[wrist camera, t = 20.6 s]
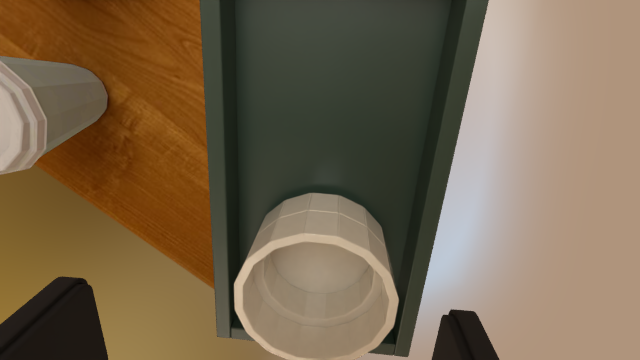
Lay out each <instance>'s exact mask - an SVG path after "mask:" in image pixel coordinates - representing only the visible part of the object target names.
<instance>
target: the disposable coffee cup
mask: <svg viewBox="0 0 640 360" xmlns="http://www.w3.org/2000/svg"><path fill="white" fill-rule="evenodd" d="M107 99H108V95H107V92H106V90H105V87H104V85H103V83H102V81H101V80H100V79H99V78H98V77H96V76H95V75H94V74H93V73H92V72H91V71H89V70H88V69H85V68H82V67H79V66H76V65H73V64H65V63H57V62H48V61H39V60H31V59H22V58H13V57H4V56H0V174H5V173H9V172H15V171H19V170H24V169H29V168H31V166H32V165H33V164H34V163H35V162H36V161H37V159H38V158H39V157H41V156H42V155H44V154H46V153H47V152H49V151H50V150H52V149H53V148H55V147H56V146H58V145H60V144H61V143H63V142H64V141H66V140H67V139H69V138H70V137H72V136H74V135H75V134H77V133H78V132H80V131H81V130H83V129H84V128H86V127H88V126H89V125H91V124H92V123H94V122H95V121H97V120H98V119H99V117H100V116H101V115H102V114H103V113H104V112H105V110H106V108H107Z"/></svg>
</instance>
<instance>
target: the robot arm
mask: <svg viewBox="0 0 640 360" xmlns="http://www.w3.org/2000/svg"><path fill="white" fill-rule="evenodd" d="M0 360H108V355H107V350H106V346H105V342H104V337H103V333H102V329H101V324H100V320H99V316H98V311H97V307H96V302H95V298H94V294H93V289H92V287H91V286H90V285H88V284H87V281H86V280H85V279H83V278H72V277H58V278H56V279H55V280H53V281H52V282H51V283H50V284H49V285H47V286H46V287H45V288H44V289H43V290H41V291H40V292H39V293H38V294H37V295H36V296H34V297H33V298H32V299H30V300H29V301H28V302H27V303H26V304H25V305H23V306H22V307H21V308H20V309H18V310H17V311H16V312H15V313H14V314H12V315H11V316H10V317H9V318H8V319H6V320H5V321H4V322H3V323H2V324H0ZM432 360H499V358H498V356H497V354H496V352H495V350H494V348H493V346H492V344H491V342H490V340H489V338H488V336H487V334H486V332H485V330H484V328H483V326H482V324H481V322H480V320H479V318H478V316H477V314H476V313H475V312H474V311H464V310H450V312H449V314H448V315H443V316H442V318H441V323H440V327H439V331H438V336H437V339H436V344H435V348H434V352H433V357H432Z"/></svg>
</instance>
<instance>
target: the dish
mask: <svg viewBox="0 0 640 360" xmlns="http://www.w3.org/2000/svg"><path fill="white" fill-rule="evenodd" d="M398 303H399V298H398V293H397V289H396V284H395V279H394V274H393V270H392V265H391V260H390V256H389V251H388V247H387V243H386V240H385V237H384V233H383V230H382V227H381V226H380V224H379V223H378V222H377V221H376V220H375V219H374V218H373V217H372V215H371V214H370V213H369V212H368V211H367V210H366V209H365V208H364V207H363V206H361V205H359V204H357V203H355V202H353V201H351V200H348V199H346V198H344V197H342V196H339V195H332V194H321V193H308V194H305V195H301V196H297V197H294V198H290V199H287V200H284V201H283V202H282V203H281V204H279V205H278V206H277V207H275V208H274V209H273V210H272V211H270V212H269V213H268V214H267V215H266V216H265V218H264V220H263V222H262V224H261V226H260V228H259V230H258V232H257V234H256V236H255V238H254V240H253V242H252V245H251V247H250V249H249V251H248V254H247V256H246V258H245V260H244V262H243V265H242V267H241V269H240V271H239V273H238V276H237V278H236V280H235V282H234V305H235V311H236V313H237V315H238V317H239V319H240V321H241V323H242V325H243V327H244V329H245V331H246V332H247V334H248V335H250V336H251V337H252V338H253V339H254V340H255V341H256V342H258V343H259V344H260V345H261V346H262V347H263V348H265V349H266V350H267V351H268V352H270V353H273V354H275V355H278V356H280V357H283V358H285V359H287V360H355V359H357V358H359V357H360V356H362V355H364V354H366V353H368V352H369V351H371V350H373V349H375V348H376V347H377V346H379V344H380V343H381V342H382V341H383V339H384V338H385V337H386V335H387V334H388V333H389V332H390V330H391V329H392V328H393V326H394V323H395V318H396V313H397V308H398Z"/></svg>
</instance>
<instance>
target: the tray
mask: <svg viewBox="0 0 640 360" xmlns="http://www.w3.org/2000/svg"><path fill="white" fill-rule="evenodd" d="M488 1H489V0H200V15H201V35H202V54H203V74H204V93H205V112H206V132H207V151H208V170H209V190H210V209H211V228H212V248H213V267H214V287H215V305H216V324H217V337H223V338H232V339H242V340H251V341H255V340H254V339H253V338H252V337H251V336H250V335H248V334H247V332H246V331H245V329H244V327H243V325H242V323H241V321H240V319H239V317H238V315H237V313H236V311H235V305H234V282H235V280H236V278H237V276H238V273H239V271H240V269H241V267H242V265H243V262H244V260H245V258H246V256H247V254H248V251H249V249H250V247H251V245H252V242H253V240H254V238H255V236H256V234H257V232H258V230H259V228H260V226H261V224H262V222H263V220H264V218H265V216H266V215H267V214H268V213H269V212H270V211H272V210H273V209H274V208H275V207H277V206H278V205H279V204H281V203H282V202H283V201H284V200H287V199H290V198H294V197H297V196H301V195H305V194H308V193H321V194H332V195H339V196H342V197H344V198H346V199H348V200H351V201H353V202H355V203H357V204H359V205H361V206H363V207H364V208H365V209H366V210H367V211H368V212H369V213H370V214H371V215H372V217H373V218H374V219H375V220H376V221H377V222H378V223H379V224H380V226H381V227H382V230H383V233H384V237H385V240H386V243H387V247H388V251H389V256H390V260H391V265H392V270H393V274H394V279H395V284H396V289H397V293H398V298H399V303H398V308H397V313H396V318H395V323H394V326H393V328H392V329H391V330H390V332H389V333H388V334H387V335H386V337H385V338H384V339H383V341H382V342H381V343H380V344H379V346H377V347H376V348H375V349H373V350H371V351H369V352H368V353H375V354H384V355H395V356H402V357H408V355H409V351H410V347H411V341H412V337H413V333H414V329H415V324H416V320H417V316H418V311H419V306H420V302H421V298H422V293H423V288H424V285H425V280H426V276H427V271H428V266H429V262H430V258H431V254H432V249H433V245H434V240H435V236H436V231H437V227H438V223H439V218H440V214H441V209H442V204H443V200H444V196H445V191H446V187H447V182H448V178H449V174H450V169H451V164H452V160H453V156H454V152H455V147H456V143H457V138H458V134H459V129H460V125H461V121H462V116H463V112H464V108H465V102H466V98H467V94H468V90H469V85H470V81H471V76H472V72H473V68H474V63H475V59H476V54H477V50H478V46H479V41H480V37H481V32H482V27H483V23H484V19H485V14H486V10H487V6H488Z"/></svg>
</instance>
